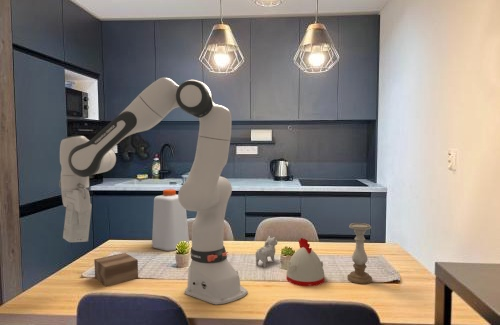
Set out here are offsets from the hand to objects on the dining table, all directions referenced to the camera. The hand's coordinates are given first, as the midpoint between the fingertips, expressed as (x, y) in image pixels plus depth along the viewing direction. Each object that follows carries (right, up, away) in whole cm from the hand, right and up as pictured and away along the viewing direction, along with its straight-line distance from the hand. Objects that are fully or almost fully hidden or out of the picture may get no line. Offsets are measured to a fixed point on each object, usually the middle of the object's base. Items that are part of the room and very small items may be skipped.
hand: (77, 222), depth 128 cm
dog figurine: (+67, -22, +27) cm, 76 cm away
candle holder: (+100, -22, +7) cm, 103 cm away
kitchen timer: (+81, -23, +9) cm, 84 cm away
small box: (-1, -6, 0) cm, 6 cm away
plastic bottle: (+21, -21, +53) cm, 61 cm away
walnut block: (+9, -23, +12) cm, 28 cm away
